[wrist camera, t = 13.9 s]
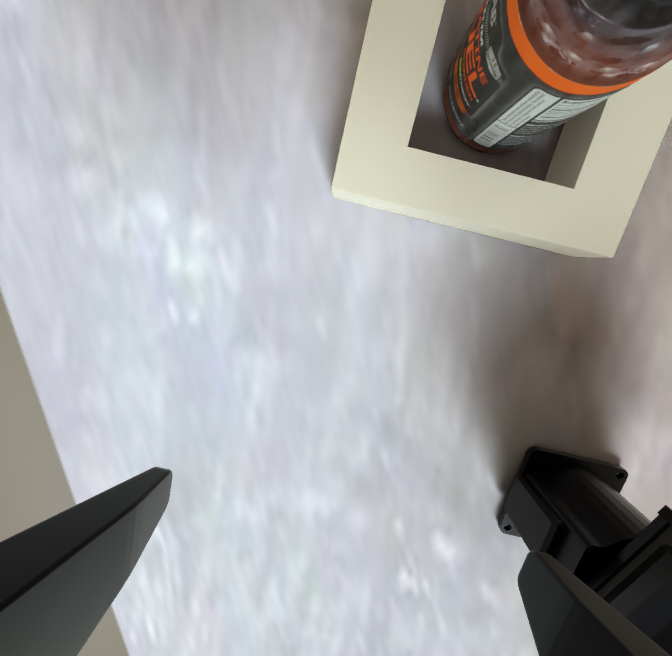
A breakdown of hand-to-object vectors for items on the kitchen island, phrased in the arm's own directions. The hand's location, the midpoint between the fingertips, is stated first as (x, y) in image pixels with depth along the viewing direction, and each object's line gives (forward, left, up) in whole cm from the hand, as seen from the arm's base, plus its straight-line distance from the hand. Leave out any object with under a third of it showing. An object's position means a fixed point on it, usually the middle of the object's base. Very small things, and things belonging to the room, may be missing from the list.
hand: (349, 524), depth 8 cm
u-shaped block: (-4, -15, -13) cm, 20 cm away
